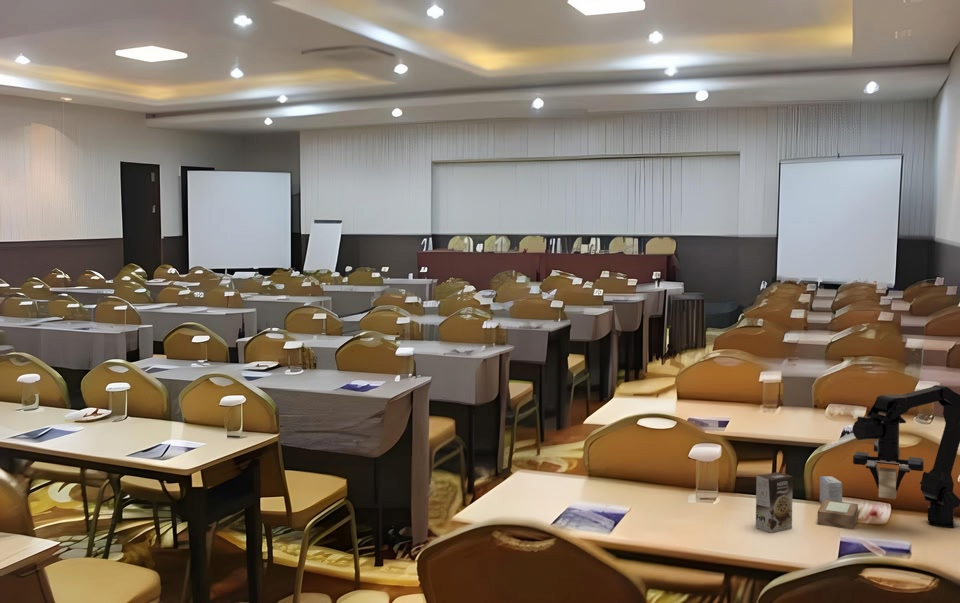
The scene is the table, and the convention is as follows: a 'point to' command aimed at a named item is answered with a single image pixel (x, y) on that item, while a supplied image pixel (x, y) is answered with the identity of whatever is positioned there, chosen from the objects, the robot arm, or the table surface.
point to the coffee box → (774, 502)
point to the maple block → (887, 483)
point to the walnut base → (838, 514)
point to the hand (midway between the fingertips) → (887, 489)
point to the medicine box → (830, 489)
